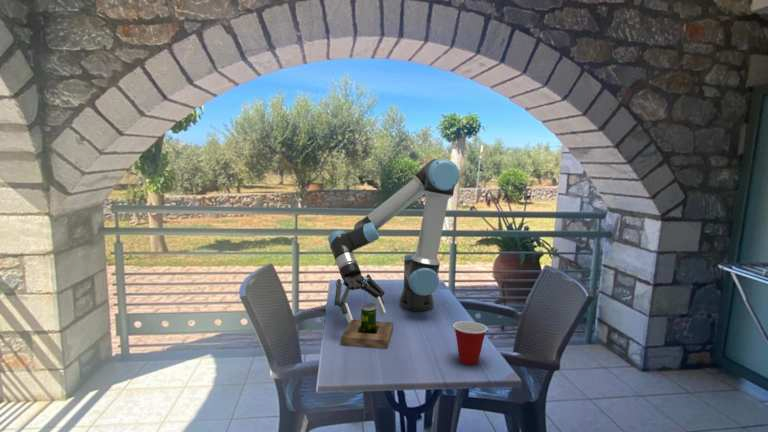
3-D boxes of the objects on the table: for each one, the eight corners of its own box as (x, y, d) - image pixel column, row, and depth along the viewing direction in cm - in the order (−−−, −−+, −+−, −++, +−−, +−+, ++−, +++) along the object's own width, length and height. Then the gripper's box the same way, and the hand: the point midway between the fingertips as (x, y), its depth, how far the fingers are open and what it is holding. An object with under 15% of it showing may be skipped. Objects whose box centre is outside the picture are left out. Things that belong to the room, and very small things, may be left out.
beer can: (367, 332, 155) (368, 301, 153) (378, 336, 151) (379, 305, 150) (357, 337, 151) (358, 305, 149) (368, 341, 147) (369, 309, 146)
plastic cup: (487, 356, 138) (489, 321, 136) (484, 371, 127) (486, 334, 126) (454, 350, 141) (456, 317, 139) (448, 365, 131) (450, 329, 129)
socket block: (393, 329, 158) (393, 322, 157) (387, 348, 142) (387, 340, 142) (351, 326, 160) (351, 319, 160) (341, 345, 144) (341, 336, 144)
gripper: (372, 268, 169) (392, 315, 159) (315, 276, 156) (332, 329, 146) (379, 258, 164) (400, 306, 154) (321, 266, 151) (339, 319, 140)
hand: (367, 317), depth 150 cm, fingers open, 13 cm apart
